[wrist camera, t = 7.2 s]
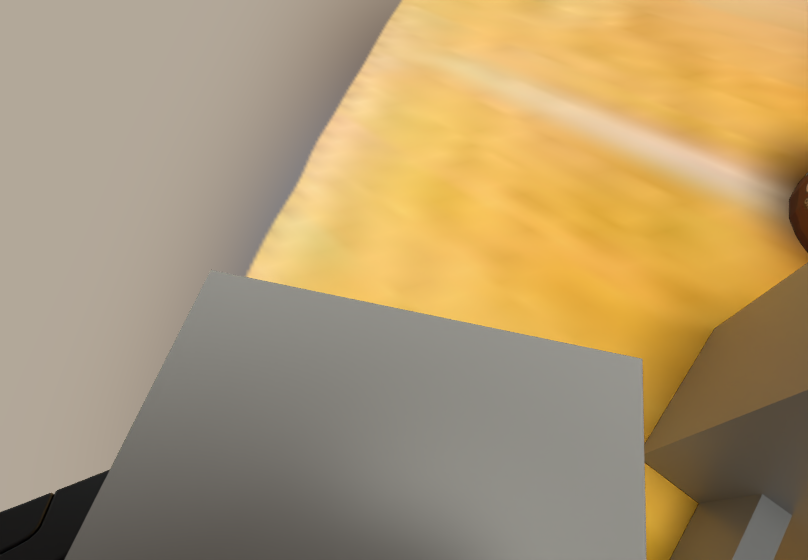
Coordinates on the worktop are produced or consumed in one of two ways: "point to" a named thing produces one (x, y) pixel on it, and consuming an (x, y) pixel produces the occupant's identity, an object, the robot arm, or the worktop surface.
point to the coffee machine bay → (744, 433)
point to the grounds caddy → (372, 440)
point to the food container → (800, 211)
